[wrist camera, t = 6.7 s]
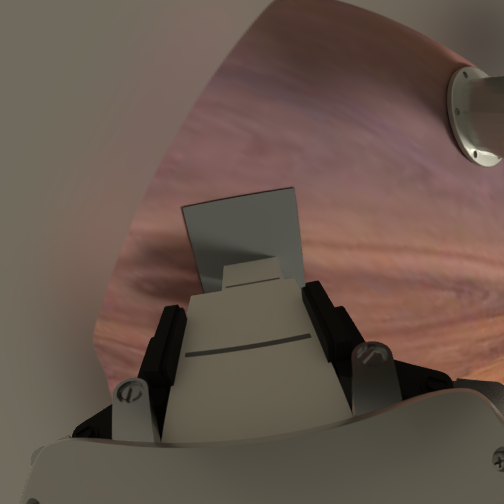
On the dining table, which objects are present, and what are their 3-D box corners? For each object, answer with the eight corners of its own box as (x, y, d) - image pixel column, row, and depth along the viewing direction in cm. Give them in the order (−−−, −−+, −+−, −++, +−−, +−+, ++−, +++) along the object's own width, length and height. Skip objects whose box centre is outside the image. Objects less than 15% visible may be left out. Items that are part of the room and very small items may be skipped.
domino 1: (223, 265, 26) (219, 318, 18) (276, 256, 26) (292, 306, 18) (227, 280, 27) (224, 336, 19) (278, 271, 27) (295, 324, 19)
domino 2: (190, 295, 13) (157, 460, 5) (294, 277, 13) (360, 435, 5) (199, 322, 14) (180, 481, 6) (297, 306, 14) (352, 459, 6)
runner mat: (294, 187, 24) (294, 188, 24) (310, 385, 34) (310, 386, 34) (183, 207, 24) (182, 207, 24) (237, 397, 34) (237, 398, 34)
